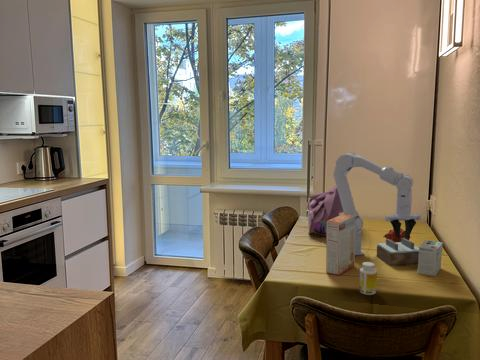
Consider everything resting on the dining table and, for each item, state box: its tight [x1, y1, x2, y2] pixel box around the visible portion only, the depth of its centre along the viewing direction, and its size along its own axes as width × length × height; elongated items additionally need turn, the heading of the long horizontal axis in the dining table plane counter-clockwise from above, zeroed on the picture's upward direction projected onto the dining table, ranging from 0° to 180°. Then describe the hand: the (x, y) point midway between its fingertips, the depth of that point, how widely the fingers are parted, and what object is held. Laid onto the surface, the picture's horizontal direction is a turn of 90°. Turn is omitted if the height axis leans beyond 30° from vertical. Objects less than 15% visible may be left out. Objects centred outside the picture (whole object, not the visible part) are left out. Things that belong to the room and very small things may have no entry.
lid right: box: [395, 238, 419, 253], centre depth 181 cm, size 7×12×3 cm, turn 8°
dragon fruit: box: [383, 227, 411, 242], centre depth 203 cm, size 8×8×12 cm
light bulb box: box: [417, 239, 444, 277], centre depth 168 cm, size 11×7×11 cm, turn 145°
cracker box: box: [325, 213, 356, 276], centre depth 170 cm, size 14×6×21 cm, turn 141°
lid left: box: [377, 238, 407, 253], centre depth 180 cm, size 7×12×3 cm, turn 8°
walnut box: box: [376, 244, 419, 267], centre depth 181 cm, size 14×12×5 cm
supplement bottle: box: [359, 261, 378, 296], centre depth 148 cm, size 6×6×10 cm
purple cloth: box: [306, 185, 344, 236], centre depth 225 cm, size 35×24×28 cm
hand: (402, 237), depth 180 cm, fingers open, 4 cm apart
